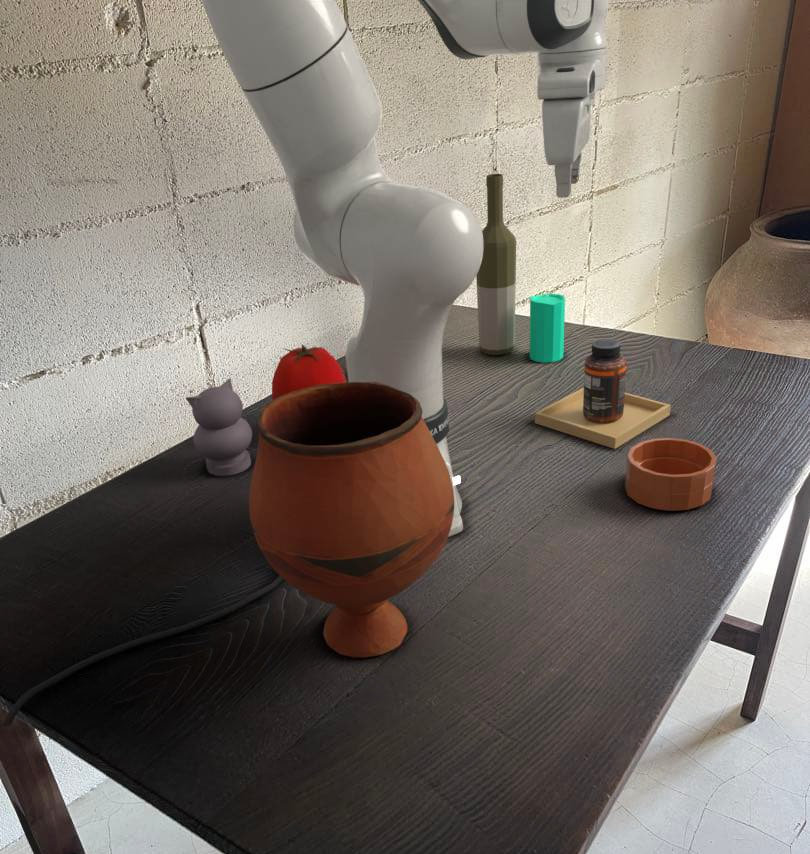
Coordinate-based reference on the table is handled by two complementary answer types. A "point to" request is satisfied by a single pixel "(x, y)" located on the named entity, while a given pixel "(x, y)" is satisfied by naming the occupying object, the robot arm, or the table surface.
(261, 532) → the goblet
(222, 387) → the cat figurine
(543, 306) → the candle
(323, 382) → the tomato
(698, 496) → the bowl
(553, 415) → the tray
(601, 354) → the supplement bottle
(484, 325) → the bottle
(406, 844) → the table surface
